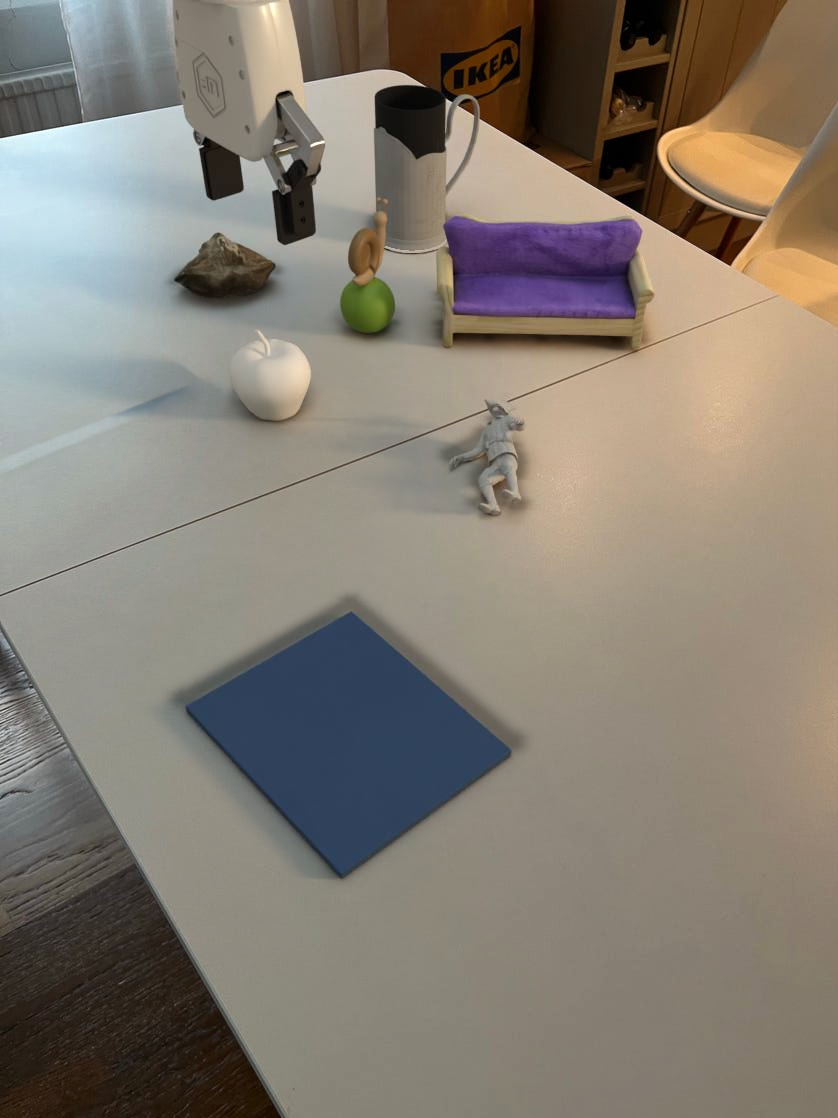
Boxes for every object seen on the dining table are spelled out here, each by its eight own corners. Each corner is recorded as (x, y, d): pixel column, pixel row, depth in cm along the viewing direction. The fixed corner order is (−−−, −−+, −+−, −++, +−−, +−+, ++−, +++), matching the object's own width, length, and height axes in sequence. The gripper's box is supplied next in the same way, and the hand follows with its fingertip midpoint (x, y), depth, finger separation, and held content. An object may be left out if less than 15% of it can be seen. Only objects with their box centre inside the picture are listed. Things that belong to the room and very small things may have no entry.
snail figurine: (409, 319, 106) (408, 203, 98) (379, 348, 102) (375, 230, 94) (363, 306, 108) (358, 191, 99) (331, 334, 104) (323, 216, 95)
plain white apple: (243, 386, 97) (231, 307, 91) (319, 391, 97) (312, 312, 91) (227, 430, 92) (214, 349, 86) (307, 434, 92) (300, 354, 86)
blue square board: (341, 879, 61) (341, 873, 61) (186, 711, 70) (185, 706, 69) (511, 755, 68) (511, 749, 68) (351, 616, 77) (351, 610, 76)
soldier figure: (450, 524, 86) (436, 407, 91) (488, 543, 89) (472, 429, 94) (522, 482, 81) (503, 362, 86) (559, 504, 85) (539, 387, 90)
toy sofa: (435, 349, 103) (436, 250, 95) (435, 305, 109) (436, 209, 101) (645, 354, 104) (662, 256, 96) (633, 310, 110) (649, 215, 102)
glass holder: (357, 232, 119) (351, 93, 109) (450, 201, 126) (453, 67, 116) (405, 261, 115) (404, 119, 104) (498, 227, 122) (506, 90, 111)
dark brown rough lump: (169, 291, 103) (271, 306, 106) (173, 221, 102) (277, 237, 104) (177, 295, 111) (272, 309, 113) (180, 230, 109) (277, 245, 111)
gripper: (112, -58, 71) (160, 192, 84) (255, 5, 63) (285, 272, 75) (206, -73, 75) (239, 168, 87) (354, -16, 66) (366, 242, 79)
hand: (260, 216), depth 81 cm, fingers open, 9 cm apart
